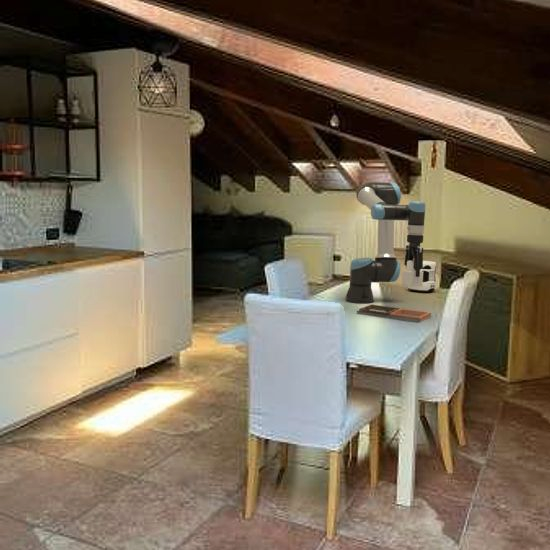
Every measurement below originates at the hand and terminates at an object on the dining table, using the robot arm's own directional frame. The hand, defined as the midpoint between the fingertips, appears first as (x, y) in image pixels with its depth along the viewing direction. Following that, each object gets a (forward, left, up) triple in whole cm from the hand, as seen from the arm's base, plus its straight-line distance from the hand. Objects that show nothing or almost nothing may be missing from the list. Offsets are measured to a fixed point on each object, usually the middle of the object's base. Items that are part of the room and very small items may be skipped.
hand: (412, 282), depth 290 cm
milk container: (-80, -22, -17) cm, 85 cm away
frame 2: (0, 0, -17) cm, 17 cm away
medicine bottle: (0, 0, -2) cm, 2 cm away
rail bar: (+9, -8, -17) cm, 21 cm away
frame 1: (0, -16, -17) cm, 23 cm away
